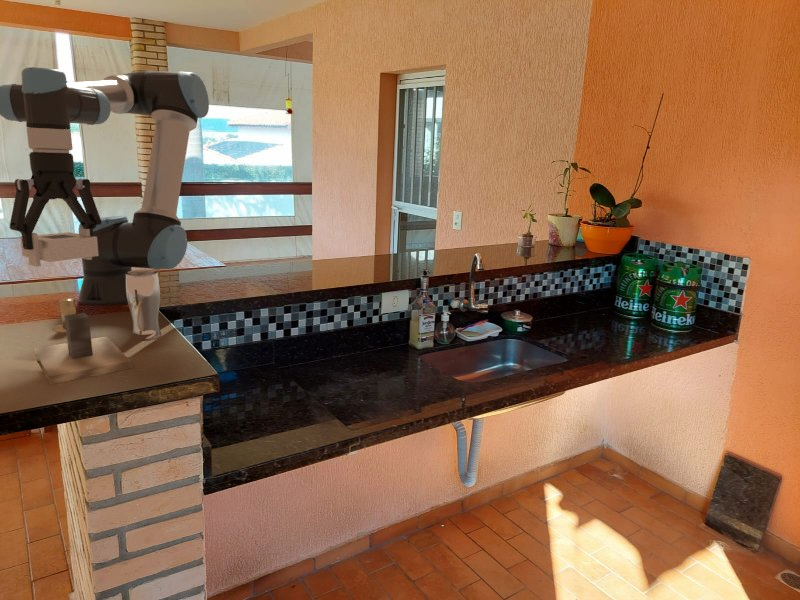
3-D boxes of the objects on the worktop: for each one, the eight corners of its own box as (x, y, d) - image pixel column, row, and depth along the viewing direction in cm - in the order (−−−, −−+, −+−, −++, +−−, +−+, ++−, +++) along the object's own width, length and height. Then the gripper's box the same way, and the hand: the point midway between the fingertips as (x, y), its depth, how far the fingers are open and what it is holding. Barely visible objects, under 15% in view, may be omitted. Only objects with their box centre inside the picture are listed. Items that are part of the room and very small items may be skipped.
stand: (84, 327, 140) (80, 294, 137) (91, 334, 134) (87, 301, 132) (50, 332, 135) (46, 298, 133) (56, 340, 130) (52, 305, 128)
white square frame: (70, 250, 128) (68, 232, 127) (98, 255, 123) (96, 236, 122) (22, 255, 120) (20, 236, 119) (50, 261, 115) (48, 241, 114)
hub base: (107, 342, 130) (103, 301, 127) (131, 368, 116) (127, 322, 114) (33, 355, 121) (27, 311, 119) (50, 384, 108) (44, 334, 105)
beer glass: (168, 337, 135) (164, 273, 131) (138, 343, 130) (132, 277, 126) (154, 330, 139) (150, 268, 135) (124, 336, 134) (119, 272, 130)
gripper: (93, 152, 128) (101, 253, 133) (-22, 149, 109) (-8, 267, 114) (115, 153, 124) (122, 257, 130) (-1, 150, 105) (13, 272, 111)
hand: (61, 262), depth 122 cm, fingers closed on white square frame, 10 cm apart
